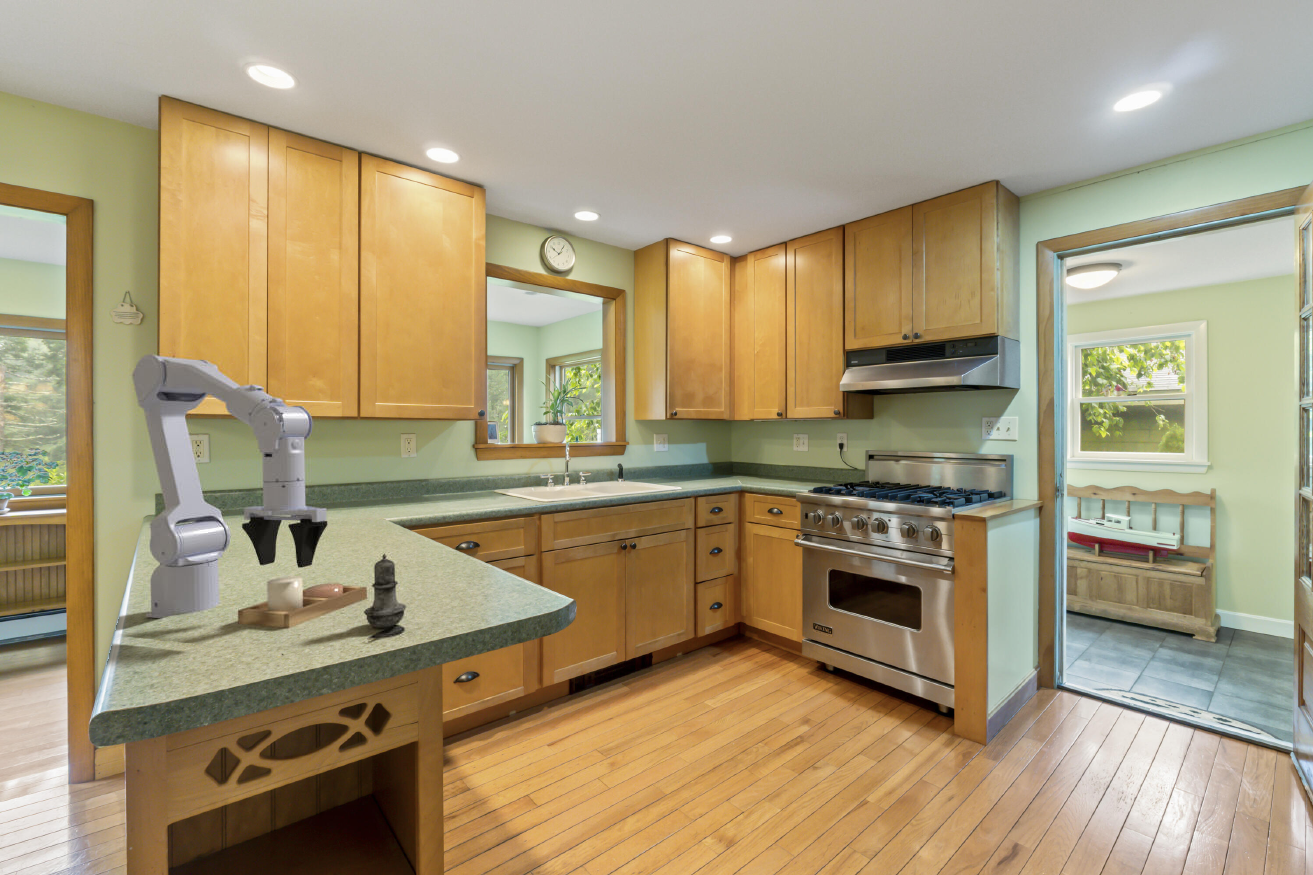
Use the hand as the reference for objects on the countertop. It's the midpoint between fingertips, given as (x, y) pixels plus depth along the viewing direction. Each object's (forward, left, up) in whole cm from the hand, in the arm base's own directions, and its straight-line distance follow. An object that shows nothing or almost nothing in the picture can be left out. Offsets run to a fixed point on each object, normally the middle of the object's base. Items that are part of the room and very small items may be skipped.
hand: (285, 565), depth 95 cm
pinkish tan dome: (0, +7, -8) cm, 11 cm away
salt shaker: (+19, 0, -10) cm, 21 cm away
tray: (0, +4, -9) cm, 10 cm away
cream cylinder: (0, 0, -8) cm, 8 cm away
